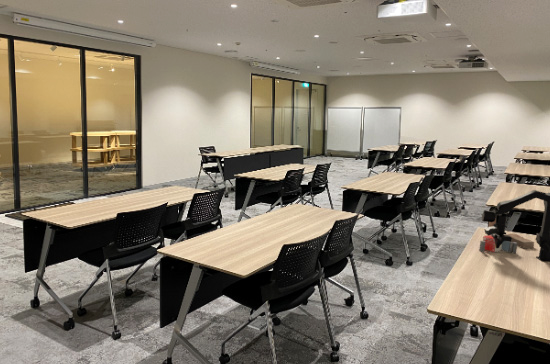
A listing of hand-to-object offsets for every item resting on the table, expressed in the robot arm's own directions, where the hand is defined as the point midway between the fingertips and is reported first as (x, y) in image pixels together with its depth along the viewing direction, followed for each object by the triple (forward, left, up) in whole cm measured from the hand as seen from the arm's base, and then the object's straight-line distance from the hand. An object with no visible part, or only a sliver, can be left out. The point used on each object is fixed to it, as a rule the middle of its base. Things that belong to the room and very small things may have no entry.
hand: (497, 248), depth 256 cm
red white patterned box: (+8, -1, -4) cm, 9 cm away
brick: (+22, -25, -4) cm, 33 cm away
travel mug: (+22, -8, -4) cm, 24 cm away
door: (+9, -5, -4) cm, 11 cm away
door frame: (+4, -3, -4) cm, 6 cm away
